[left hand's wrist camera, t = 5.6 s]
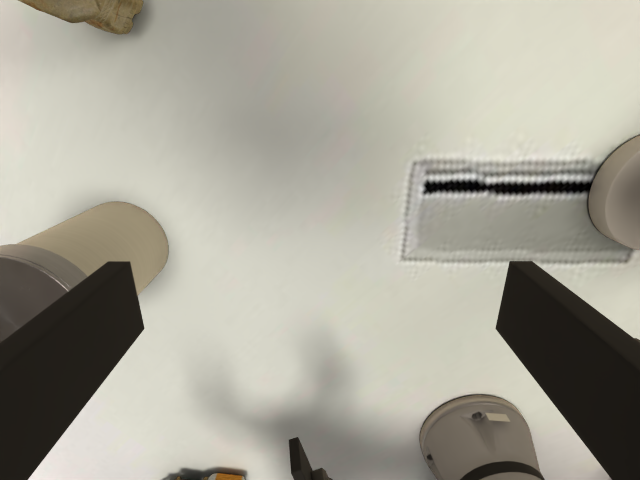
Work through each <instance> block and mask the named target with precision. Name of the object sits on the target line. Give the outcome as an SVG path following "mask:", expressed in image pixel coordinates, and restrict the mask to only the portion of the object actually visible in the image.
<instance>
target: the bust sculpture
mask: <svg viewBox="0 0 640 480" xmlns="http://www.w3.org/2000/svg"><path fill="white" fill-rule="evenodd" d="M589 213H590V217H591V219H592V221H593V223H594V225H595V227H596V228H597V229H598V230H599V231H600V232H601V233H602V234H603V235H605V236H606V237H608V238H610V239H612V240H614V241H616V242H619V243H621V244H623V245H625V246H627V247H629V248H632V249H636V250H640V135H639V136H637V137H635V138H633V139H631V140H630V141H628V142H626V143H625V144H623V145H622V146H621V147H619V148H618V149H617V150H616V151H615V152H614V153H613V154H612V155H611V156H610V157H609V158H608V159H607V160H606V161H605V162H604V164H603V165H602V166H601V168H600V169H599V171H598V173H597V175H596V176H595V179H594V181H593V183H592V186H591V189H590V194H589Z"/></svg>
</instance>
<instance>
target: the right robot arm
mask: <svg viewBox="0 0 640 480" xmlns="http://www.w3.org/2000/svg"><path fill="white" fill-rule="evenodd" d="M420 445H421V449H422V452H423V455H424V458H425V460H426V462H427V464H428V466H429V468H430V469H431V470H432V472H433V473H434V475H435V476H436V478H437V479H438V480H545V479H544V478H543V476H542V474H541V472H540V469H539V465H538V461H537V457H536V453H535V449H534V445H533V441H532V437H531V433H530V430H529V427H528V425H527V423H526V421H525V420H524V418H523V416H522V415H521V413H520V412H519V411H518V409H517V408H516V407H515V406H513V405H512V404H511V403H509V402H507V401H505V400H503V399H501V398H497V397H493V396H487V395H473V396H466V397H462V398H458V399H455V400H453V401H450V402H448V403H446V404H444V405H443V406H441V407H439V408H438V409H437V410H435V411H434V412H433V413H432V414H431V415H430V416H429V417H428V419H427V420H426V421H425V423H424V425H423V427H422V430H421V433H420ZM289 448H290V462H291V474H292V476H293V478H294V480H332V479H331V478H328V476H327V473H326V471H325V470H324V469H323V468H320V469H317V470H314V471H312V468H311V466H310V464H309V461H308V459H307V457H306V454H305V452H304V450H303V447H302V445H301V443H300V440H299V438H298V437H296V438H293V439H290V440H289Z"/></svg>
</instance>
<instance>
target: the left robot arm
mask: <svg viewBox="0 0 640 480" xmlns="http://www.w3.org/2000/svg"><path fill="white" fill-rule="evenodd" d="M143 330H144V325H143V320H142V315H141V310H140V305H139V301H138V296H137V291H136V286H135V282H134V277H133V272H132V267H131V263H130V261H108V262H107V263H105V264H104V265H103V266H101V267H100V268H99V269H97V270H96V271H95V272H93V273H92V274H91V275H89V276H88V277H87V278H85V279H84V280H83V281H81V282H80V283H79V284H77V285H76V286H75V287H73V288H72V289H71V290H70V291H68V292H67V293H66V294H64V295H63V296H62V297H60V298H59V299H58V300H56V301H55V302H54V303H52V304H51V305H50V306H48V307H47V308H46V309H44V310H43V311H42V312H40V313H39V314H38V315H36V316H35V317H34V318H32V319H31V320H30V321H29V322H27V323H26V324H25V325H23V326H22V327H21V328H19V329H18V330H17V331H15V332H14V333H13V334H11V335H10V336H9V337H7V338H6V339H5V340H3V341H1V342H0V480H28V479H29V477H30V476H31V475H32V473H33V472H34V471H35V470H36V468H37V467H38V466H39V464H40V463H41V462H42V460H43V459H44V458H45V457H46V455H47V454H48V453H49V451H50V450H51V449H52V448H53V446H54V445H55V444H56V442H57V441H58V440H59V438H60V437H61V436H62V435H63V433H64V432H65V431H66V429H67V428H68V427H69V425H70V424H71V423H72V422H73V420H74V419H75V418H76V416H77V415H78V414H79V413H80V411H81V410H82V409H83V407H84V406H85V405H86V403H87V402H88V401H89V400H90V398H91V397H92V396H93V394H94V393H95V392H96V391H97V389H98V388H99V387H100V385H101V384H102V383H103V381H104V380H105V379H106V378H107V376H108V375H109V374H110V372H111V371H112V370H113V369H114V367H115V366H116V365H117V363H118V362H119V361H120V359H121V358H122V357H123V356H124V354H125V353H126V352H127V350H128V349H129V348H130V346H131V345H132V344H133V343H134V341H135V340H136V339H137V337H138V336H139V335H140V334H141V332H142V331H143ZM496 330H497V331H498V332H499V334H500V335H501V336H502V337H503V339H504V340H505V341H506V343H507V344H508V345H509V346H510V348H511V349H512V350H513V352H514V353H515V354H516V356H517V357H518V358H519V359H520V361H521V362H522V363H523V365H524V366H525V367H526V369H527V370H528V371H529V372H530V374H531V375H532V376H533V378H534V379H535V380H536V381H537V383H538V384H539V385H540V387H541V388H542V389H543V391H544V392H545V393H546V394H547V396H548V397H549V398H550V400H551V401H552V402H553V403H554V405H555V406H556V407H557V409H558V410H559V411H560V413H561V414H562V415H563V416H564V418H565V419H566V420H567V422H568V423H569V424H570V425H571V427H572V428H573V429H574V431H575V432H576V433H577V435H578V436H579V437H580V438H581V440H582V441H583V442H584V444H585V445H586V446H587V448H588V449H589V450H590V451H591V453H592V454H593V455H594V457H595V458H596V459H597V460H598V462H599V463H600V464H601V466H602V467H603V468H604V470H605V471H606V472H607V473H608V475H609V476H610V477H611V479H612V480H640V340H639V339H637V338H633V337H631V336H630V335H629V334H627V333H626V332H625V331H623V330H622V329H621V328H619V327H618V326H617V325H615V324H614V323H613V322H611V321H610V320H609V319H608V318H606V317H605V316H604V315H602V314H601V313H600V312H598V311H597V310H596V309H594V308H593V307H592V306H590V305H589V304H588V303H586V302H585V301H584V300H582V299H581V298H580V297H578V296H577V295H576V294H574V293H573V292H572V291H570V290H569V289H568V288H567V287H565V286H564V285H563V284H561V283H560V282H559V281H557V280H556V279H555V278H553V277H552V276H551V275H549V274H548V273H547V272H545V271H544V270H543V269H541V268H540V267H539V266H537V265H536V264H535V263H533V262H532V261H510V263H509V267H508V272H507V277H506V282H505V286H504V291H503V296H502V301H501V305H500V310H499V315H498V320H497V325H496Z"/></svg>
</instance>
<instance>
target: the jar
mask: <svg viewBox="0 0 640 480" xmlns="http://www.w3.org/2000/svg"><path fill="white" fill-rule="evenodd" d="M17 244H22V245H31V246H35V247H40V248H43V249H46V250H49V251H51V252H53V253H56V254H58V255H60V256H62V257H63V258H65V259H67V260H69V261H70V262H71V263H73V264H74V265H76V266H77V267H78V268H79V269H80V270H82V271H83V272H84V273H85V274H86V275H87V276H89V275H91V274H92V273H93V272H95V271H96V270H97V269H99V268H100V267H101V266H103V265H104V264H105V263H107V262H108V261H130V263H131V267H132V272H133V277H134V282H135V286H136V291H137V296H138V295H139V294H140V293H141V291H142V290H143V289H144V288H145V287H146V286H147V285H148V284H149V283H150V282H151V281H152V280H153V279H154V278H155V277H156V275H157V274H158V273H159V272H160V271H161V270H162V269H163V267H164V266H165V264H166V261H167V258H168V241H167V238H166V235H165V233H164V231H163V229H162V227H161V226H160V224H159V223H158V222H157V221H156V220H155V219H154V218H153V217H152V216H151V215H150V214H149V213H148V212H146V211H145V210H143V209H141V208H139V207H137V206H135V205H132V204H129V203H124V202H107V203H103V204H100V205H98V206H96V207H94V208H92V209H90V210H87V211H85V212H83V213H81V214H79V215H77V216H75V217H73V218H70V219H68V220H66V221H64V222H62V223H60V224H58V225H56V226H53V227H51V228H49V229H47V230H45V231H43V232H41V233H39V234H36V235H34V236H32V237H30V238H28V239H26V240H24V241H22V242H19V243H17Z"/></svg>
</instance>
